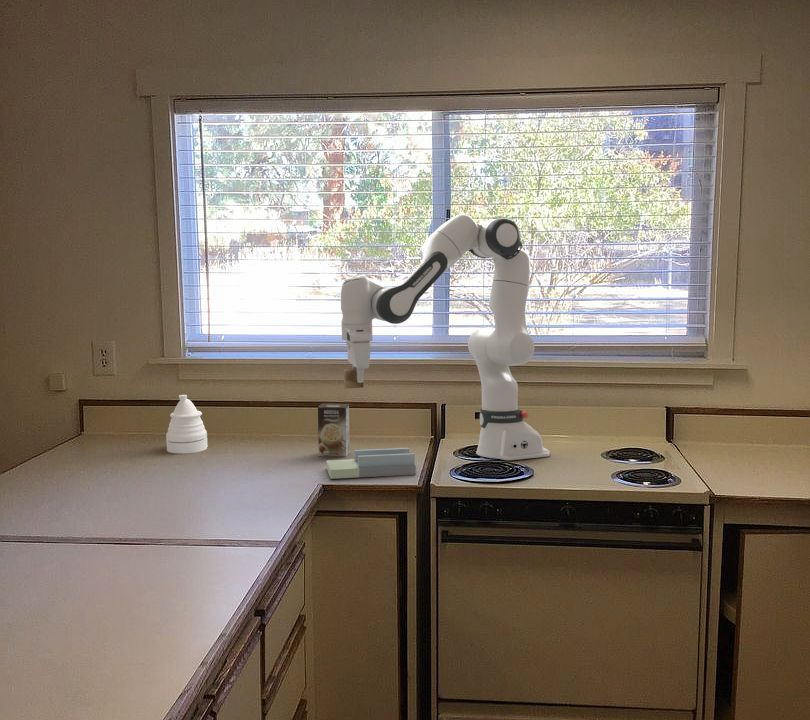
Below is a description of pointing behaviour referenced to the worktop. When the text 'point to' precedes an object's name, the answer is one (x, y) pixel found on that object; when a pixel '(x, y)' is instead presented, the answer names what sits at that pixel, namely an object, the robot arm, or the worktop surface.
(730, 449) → the worktop surface
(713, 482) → the worktop surface
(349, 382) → the walnut block
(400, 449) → the channel
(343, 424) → the coffee box
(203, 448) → the honey pot
